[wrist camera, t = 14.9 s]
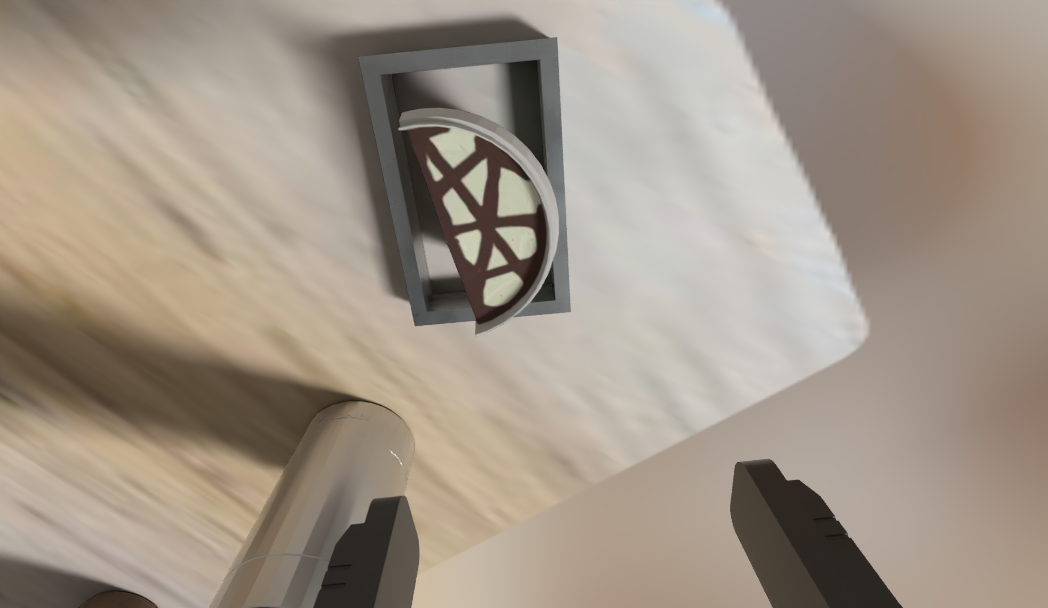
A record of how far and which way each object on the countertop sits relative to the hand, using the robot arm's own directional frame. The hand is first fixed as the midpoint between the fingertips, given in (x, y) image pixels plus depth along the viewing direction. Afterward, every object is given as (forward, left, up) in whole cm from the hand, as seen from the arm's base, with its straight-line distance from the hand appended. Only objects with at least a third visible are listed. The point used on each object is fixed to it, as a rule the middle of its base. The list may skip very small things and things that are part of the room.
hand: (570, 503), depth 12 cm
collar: (+2, +3, -25) cm, 25 cm away
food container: (+3, +2, -25) cm, 25 cm away
